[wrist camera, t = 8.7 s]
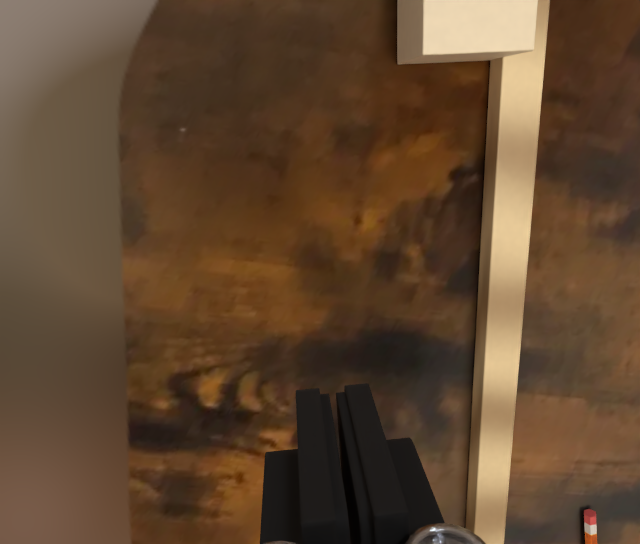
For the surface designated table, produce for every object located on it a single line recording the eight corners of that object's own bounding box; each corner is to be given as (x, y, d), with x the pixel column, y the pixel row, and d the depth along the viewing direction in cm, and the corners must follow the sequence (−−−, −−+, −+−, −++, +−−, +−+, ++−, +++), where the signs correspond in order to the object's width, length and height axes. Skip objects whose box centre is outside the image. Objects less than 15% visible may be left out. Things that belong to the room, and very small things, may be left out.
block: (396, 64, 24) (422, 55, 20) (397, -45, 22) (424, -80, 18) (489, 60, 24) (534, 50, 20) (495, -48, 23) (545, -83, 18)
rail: (494, 526, 33) (504, 544, 32) (465, 529, 33) (473, 548, 32) (536, -21, 23) (553, -30, 22) (494, -20, 23) (508, -28, 22)
